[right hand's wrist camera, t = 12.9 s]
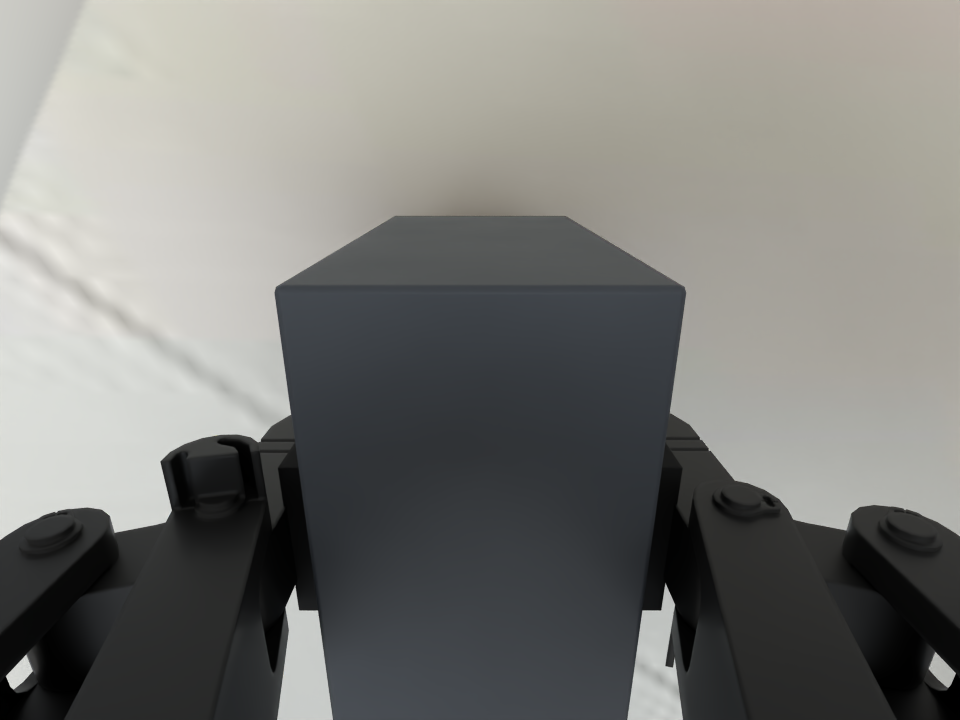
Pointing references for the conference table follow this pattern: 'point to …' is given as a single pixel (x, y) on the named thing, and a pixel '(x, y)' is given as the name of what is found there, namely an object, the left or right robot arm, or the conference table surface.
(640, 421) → the bar
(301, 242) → the conference table surface
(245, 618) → the right robot arm
